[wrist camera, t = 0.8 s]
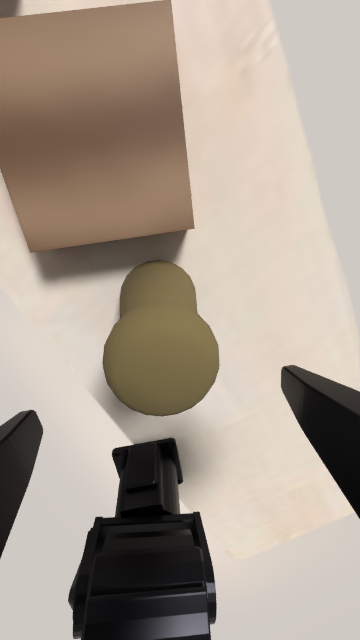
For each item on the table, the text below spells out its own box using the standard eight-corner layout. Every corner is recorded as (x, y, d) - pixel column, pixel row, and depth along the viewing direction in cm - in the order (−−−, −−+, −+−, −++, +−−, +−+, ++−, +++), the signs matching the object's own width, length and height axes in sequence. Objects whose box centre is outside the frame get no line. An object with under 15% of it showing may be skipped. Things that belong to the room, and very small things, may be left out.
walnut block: (188, 227, 18) (194, 228, 15) (49, 247, 18) (30, 252, 15) (167, 42, 14) (170, -1, 11) (-11, 62, 14) (-51, 24, 11)
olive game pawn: (134, 341, 21) (117, 454, 11) (108, 272, 19) (55, 336, 9) (203, 321, 21) (249, 417, 11) (185, 250, 19) (222, 288, 9)
